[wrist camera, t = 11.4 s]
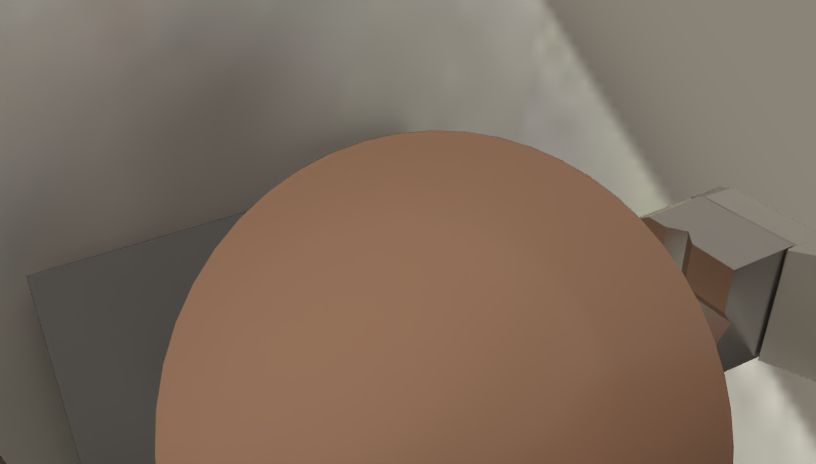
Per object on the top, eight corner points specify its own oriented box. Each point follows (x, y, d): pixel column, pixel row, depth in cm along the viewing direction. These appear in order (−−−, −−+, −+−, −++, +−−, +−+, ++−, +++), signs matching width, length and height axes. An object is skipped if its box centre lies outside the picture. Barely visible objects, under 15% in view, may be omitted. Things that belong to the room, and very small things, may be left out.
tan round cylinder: (248, 592, 13) (293, 925, 4) (166, 350, 13) (66, 227, 5) (471, 482, 14) (824, 566, 6) (386, 270, 15) (590, 75, 7)
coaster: (171, 739, 13) (167, 764, 12) (39, 285, 14) (26, 276, 13) (572, 527, 16) (593, 534, 15) (427, 170, 17) (439, 155, 16)
